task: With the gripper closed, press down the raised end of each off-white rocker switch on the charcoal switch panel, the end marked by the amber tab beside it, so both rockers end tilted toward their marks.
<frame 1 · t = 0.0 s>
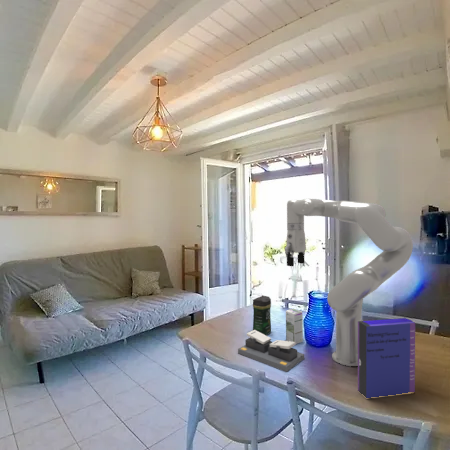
hand: (295, 264, 141), 37 cm above the table, tool pointing down, fingers open, 9 cm apart
syrup box: (294, 341, 145), on the table
outer rocker: (258, 336, 134), point 7 cm above the table, hinge at -10.0°
inner rocker: (282, 344, 126), point 7 cm above the table, hinge at 10.0°
blue upright rectangular block: (385, 393, 103), on the table
switch panel: (270, 356, 130), on the table
coffee jar: (262, 333, 155), on the table
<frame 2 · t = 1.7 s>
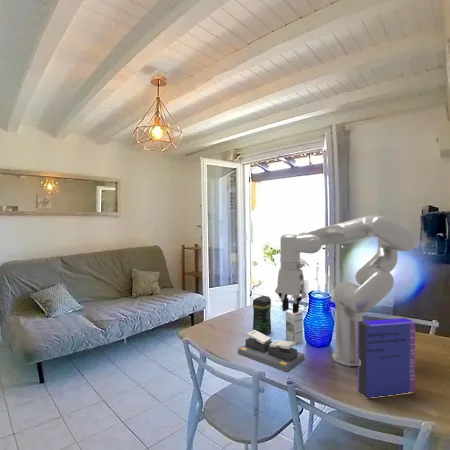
hand: (290, 310, 123), 21 cm above the table, tool pointing down, fingers open, 3 cm apart
nothing on the table moved.
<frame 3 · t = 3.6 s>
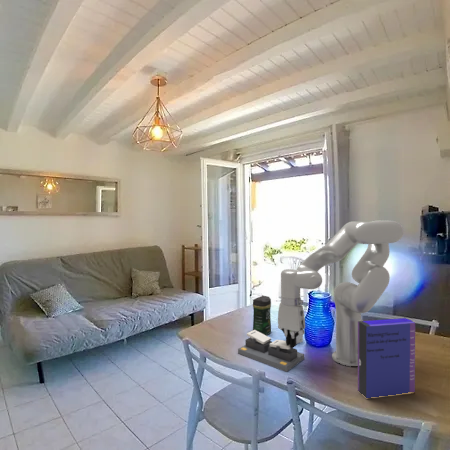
hand: (291, 346, 123), 7 cm above the table, tool pointing down, fingers closed
inner rocker: (282, 344, 126), point 7 cm above the table, hinge at 7.8°, touching gripper
everything else where it was.
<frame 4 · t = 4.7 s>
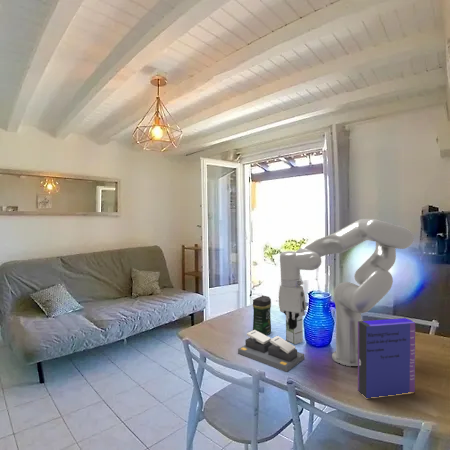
hand: (292, 328, 123), 14 cm above the table, tool pointing down, fingers closed
inner rocker: (282, 344, 126), point 7 cm above the table, hinge at -15.9°, touching switch panel
everything else where it was.
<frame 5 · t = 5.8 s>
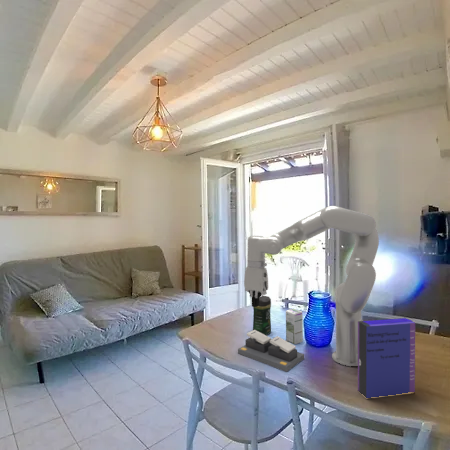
hand: (255, 306, 134), 20 cm above the table, tool pointing down, fingers closed
inner rocker: (282, 344, 126), point 7 cm above the table, hinge at -12.9°
everything else where it was.
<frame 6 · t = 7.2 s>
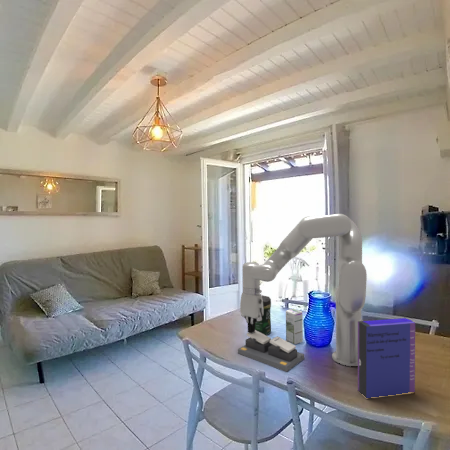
hand: (251, 331, 137), 8 cm above the table, tool pointing down, fingers closed
outer rocker: (258, 336, 134), point 7 cm above the table, hinge at -10.0°, touching gripper
inner rocker: (282, 344, 126), point 7 cm above the table, hinge at -11.6°
everything else where it was.
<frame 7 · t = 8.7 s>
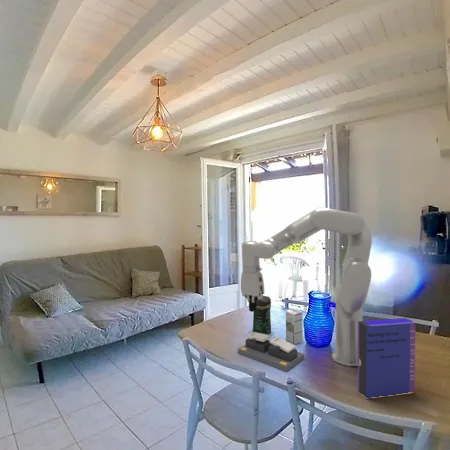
hand: (252, 310, 136), 17 cm above the table, tool pointing down, fingers closed
outer rocker: (258, 336, 134), point 7 cm above the table, hinge at 5.0°
inner rocker: (282, 344, 126), point 7 cm above the table, hinge at -11.2°
everything else where it was.
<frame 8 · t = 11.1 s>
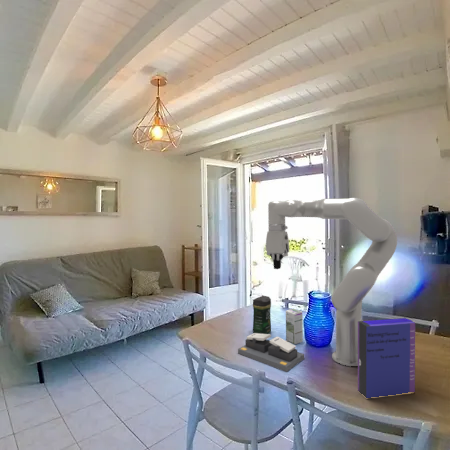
hand: (277, 268, 141), 35 cm above the table, tool pointing down, fingers closed
outer rocker: (258, 336, 134), point 7 cm above the table, hinge at 10.8°
everything else where it was.
at the end: inner rocker at -11° (first picture: +10°); outer rocker at +11° (first picture: -10°) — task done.
